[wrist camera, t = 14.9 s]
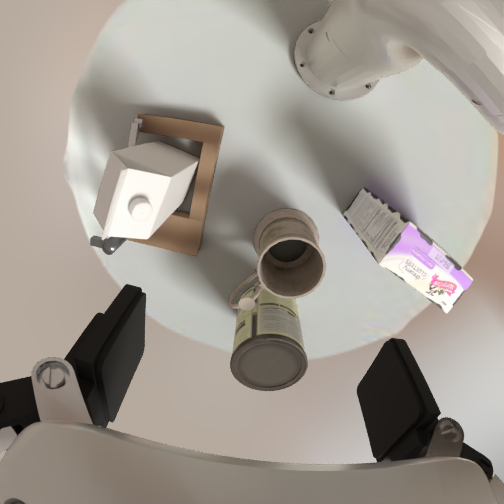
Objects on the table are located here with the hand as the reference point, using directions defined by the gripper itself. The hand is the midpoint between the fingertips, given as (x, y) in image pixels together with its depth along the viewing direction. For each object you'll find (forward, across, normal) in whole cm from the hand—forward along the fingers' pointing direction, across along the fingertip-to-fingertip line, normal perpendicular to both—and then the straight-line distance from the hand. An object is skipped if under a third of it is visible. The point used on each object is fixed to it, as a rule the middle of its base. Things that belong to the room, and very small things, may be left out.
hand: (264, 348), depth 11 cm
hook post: (+32, +19, +11) cm, 38 cm away
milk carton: (+34, +13, +2) cm, 37 cm away
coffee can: (+34, -6, +21) cm, 41 cm away
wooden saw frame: (+34, +13, +4) cm, 37 cm away
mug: (+34, -4, +10) cm, 36 cm away
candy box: (+35, -20, +2) cm, 40 cm away
